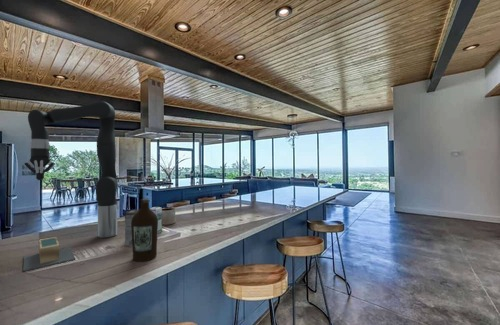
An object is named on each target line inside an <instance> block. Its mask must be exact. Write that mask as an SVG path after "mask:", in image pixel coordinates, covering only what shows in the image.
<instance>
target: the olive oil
mask: <svg viewBox="0 0 500 325" xmlns="http://www.w3.org/2000/svg"><path fill="white" fill-rule="evenodd" d="M139 204H140V209H138V210H139V211H138V212H137V213H136V214H135V215H134V216H133V218H132V221H131V230H132V246H131V247H132V260H133V261H135V262H146V261H151V260H153V259H155V258H156V257H157V254H158V233H157V230H158V218H157V216H156V214H155V213H154V212H153V211H152V210H151V209H150V208H151V207H150V202H149V198H142V199H140V203H139Z"/></svg>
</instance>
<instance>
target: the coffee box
mask: <svg viewBox="0 0 500 325" xmlns="http://www.w3.org/2000/svg"><path fill="white" fill-rule="evenodd" d="M139 210H140V209H131V210H129V211H128V212H125V213H124V246H127V247H128V246H131V247H132V230H131V221H132V218H133V216H134V215H135V214H136V213H137V212H138V211H139Z"/></svg>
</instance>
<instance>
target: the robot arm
mask: <svg viewBox="0 0 500 325" xmlns="http://www.w3.org/2000/svg"><path fill="white" fill-rule="evenodd" d="M87 117H88V118H89V117H91V118H92V117H93V118H94V117H95V118H99V132H98V135H97V139H96V155H97V159H98V162H99V165H100V171H101V172H100V179H98V180H97V182H96V187H95V188H96V189H95V192H96V202H97V238H101V239H103V238H111V237H114V236H117V234H118V213H117V212H118V211H117V208H118V207H117V205H118V203H117V202H118V201H117V198H116V197H117V196H116V189H118V185H119V183H118V177H117V172H116V171H117V170H116V162H117V161H116V160H117V159H116V158H117V157H116V154H117V153H116V150H117V148H116V136H115V135H116V134H115V122H116V121H115V118H116V110H115V108H114V106H112V105H111V104H110V103H108V102H106V101H100V100H99V101H97V102H92V103H89V104H85V105H80V106H72V107H62V108H53V109H52V110H51V111H42V110H41V109H32V110H30V111H29V112H28V114H27V121H28V125H29V128H30V132H31V135H30V136H31V138H30V139H31V140H30V159H29V161H27V162H24V163H23V164H24V166H26V167H27V168H28V170H30V172H32V173H35V175H36V176H35V178H36V180H37V181H44V179H45V173H48V172H49V171H50V170H52V168H53V167H54V166H55V165H56V162H53V161H51V159H50V158H51V157H50V141H49V140H50V139H49V138H50V137H49V136H50V132H49V130H48V129H47V128H46V125H47V126H48V125H53V124H56V123H62V122H63V123H64V122H71V121H76V120H78V119H83V118H87Z"/></svg>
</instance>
